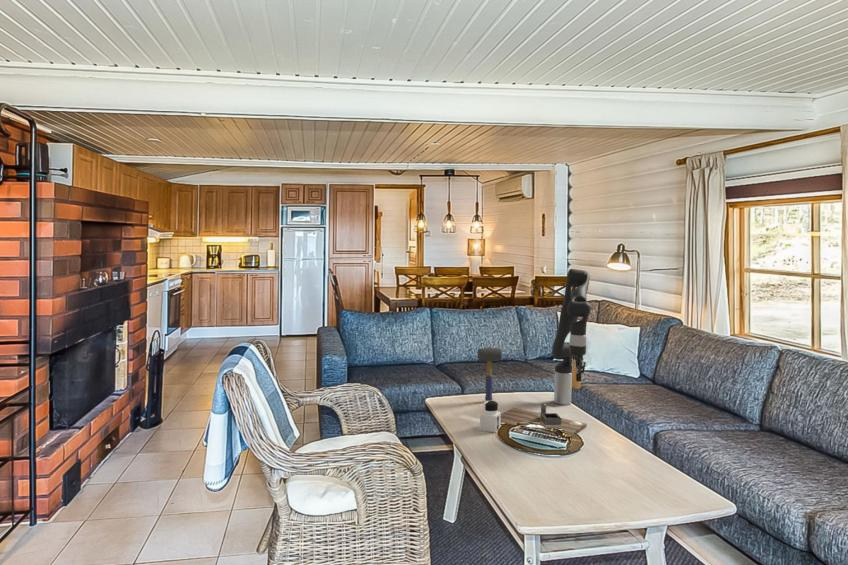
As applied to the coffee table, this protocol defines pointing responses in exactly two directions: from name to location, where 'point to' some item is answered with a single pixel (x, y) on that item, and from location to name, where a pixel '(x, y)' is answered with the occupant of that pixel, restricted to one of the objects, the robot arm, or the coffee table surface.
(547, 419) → the lever
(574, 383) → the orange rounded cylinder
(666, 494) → the coffee table surface
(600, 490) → the coffee table surface
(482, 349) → the rubber mallet
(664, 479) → the coffee table surface
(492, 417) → the container
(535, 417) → the base
